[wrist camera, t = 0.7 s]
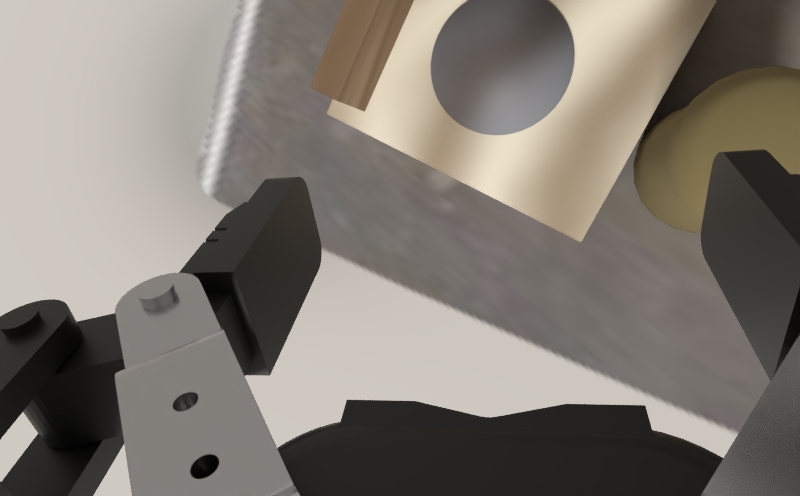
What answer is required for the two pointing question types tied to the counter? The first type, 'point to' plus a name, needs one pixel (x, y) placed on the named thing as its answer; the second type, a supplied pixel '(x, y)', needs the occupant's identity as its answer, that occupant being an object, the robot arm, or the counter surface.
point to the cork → (717, 140)
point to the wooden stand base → (511, 90)
